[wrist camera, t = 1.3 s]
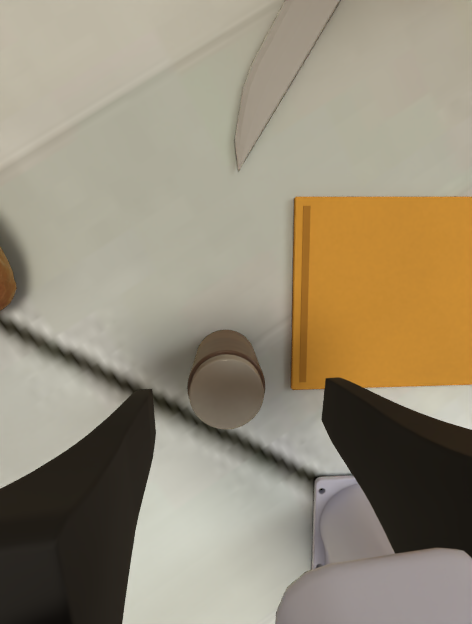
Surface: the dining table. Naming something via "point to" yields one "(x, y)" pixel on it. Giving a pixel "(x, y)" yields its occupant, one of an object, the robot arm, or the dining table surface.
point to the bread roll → (6, 281)
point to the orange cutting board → (382, 291)
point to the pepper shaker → (226, 381)
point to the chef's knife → (278, 66)
